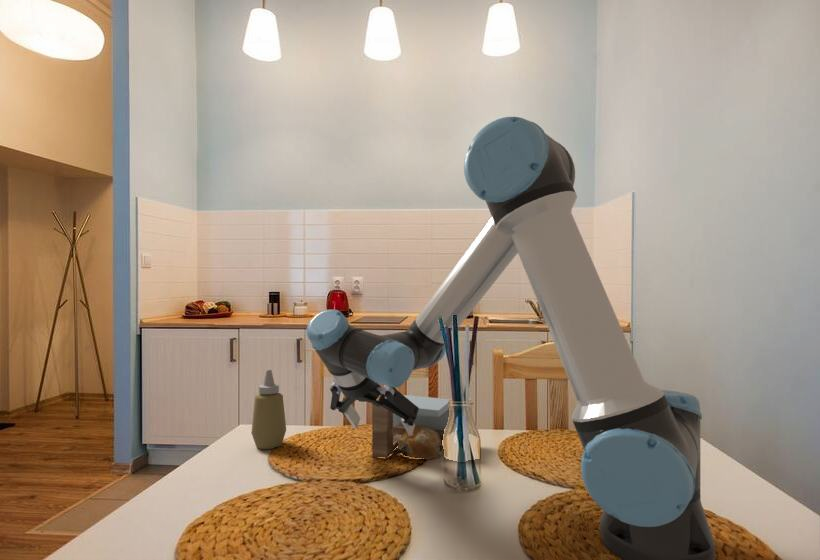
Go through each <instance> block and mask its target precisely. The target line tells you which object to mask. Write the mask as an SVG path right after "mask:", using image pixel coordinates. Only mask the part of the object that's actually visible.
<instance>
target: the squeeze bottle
mask: <svg viewBox="0 0 820 560" xmlns="http://www.w3.org/2000/svg"><path fill="white" fill-rule="evenodd" d="M286 432H287V423H286V414H285V403H284V395H283V394H282V393H280V384H278V383H275V380H274V375H273V371H272V369H266V370H265V375H264V380H263V383H262V384H259V386H258V394H257V395H256V396H255V397H254V404H253V414H252V423H251V436H252V438H253V441H254V444H255V447H256V448H257V449H259V450H272V449H276V448H275V447H277V448H279V447H281V446H282V444H283V441H284V439H285V435H286ZM280 445H281V446H280ZM278 446H279V447H278Z"/></svg>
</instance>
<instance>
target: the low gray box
mask: <svg viewBox="0 0 820 560" xmlns="http://www.w3.org/2000/svg"><path fill="white" fill-rule="evenodd" d="M403 395H404V396H405V397H406V398H407V399H408V400H410V401H411V402H412V403H413V404H415V405H416V406H417V407H418V408H419V410H418V413H417V417H416V419H415V421H414V424H415V426H428V427H430V428H431V429H433V430H440V431H444V429H445V427H446V425H447V422H448V417H449V406H448V401H449V400H450V398H449V399H448V398H439V397H432V396H431V397H430V396H420V395H409V394H408V395H407V394H406V395H405V394H403ZM395 425H399V426H404V425H403V424H402V422H401V417H399V416H397V415H396V414H394V413H393V427H394V426H395Z"/></svg>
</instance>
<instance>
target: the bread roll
mask: <svg viewBox="0 0 820 560" xmlns="http://www.w3.org/2000/svg"><path fill="white" fill-rule="evenodd" d="M397 442H398V448H396V450H395V451H396V453H398V454H400V453H402V454H403V455H405V456H409V457H414V458H422V459H423V458H424V459H426V460H425V461H428V460H433V459H436V458H438V457H441V456H442V455H443V452H442V447H441V440H440V437H439V435H438V433H437V432H436V431H435V430H433V429H431V428H430V427H428V426H415V427H414V431H413V434H412V436H409V435H408V433H407V431H405V432H404V433H403V435H402V436H401V437H400V438H399V439H398V440H397Z"/></svg>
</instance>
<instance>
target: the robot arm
mask: <svg viewBox="0 0 820 560" xmlns="http://www.w3.org/2000/svg"><path fill="white" fill-rule="evenodd" d="M468 146H469V147H468V149H467V152H466V154H465V157H464V163H463V172H464V177H465V180H466V183H467V185H468V187H469V189H470V190H471V191H472V192H473V194H475V196H476V197H478V198H479V199H480V200H482V201H485V202H486V205H487V208H488V210H489V213H490V215H491V216H490V217H489V219H488V220H487V221H486V222H485V224H484V225H483V227H482V228H481V229H480V231H479V232H478V233H477V235H476V236H475V238H474V239H473V240H472V242H471V243H470V244H469V245H468V247H467V248H466V250H465V251H464V252H463V254H462V255H461V256H460V257H459V259H458V261H457V262H456V263H455V264H454V266H453V267H452V269H451V270H450V271H449V272H448V274H447V275H446V276H445V278H444V279H443V281H442V282H441V284H440V285H439V286H438V288H437V289H435V291H434V293H432V296H431V297H430V298H429V300H428V301H427V303H426V304H425V306H424V307H423V308H422V310H421V311H420V312H419V314H418V315H417V316H416V317H415V319H414V320H413V322H412V323H411V324H410V325H409V326H408V328H407V330H405V331H401V332H395V333H389V334H382V335H381V334H380V335H379V334H376V333H373V332H368V331H366V330H364V329H362V328H358V327H356V326H352V325H351V324H350V323H349V320H348V318H347V317H346V316H345V315H344V313H343V312H341V311H340V310H338V309H325V310H322V311H320V312H318V313H317V314H316V315H314V316H313V318H312V319H311V320H310V321H309V322H308V324H307V327H306V335H307V338H308V340H309V342H310V344H311V348H312V349H313V350H314V351H315V352H316V354H317V355H318V357H319V358H320V360H321V361H322V363H323V365H324V366H325V368H326V369H327V370H328V372H329V374H330V376H331V378H332V379H333V382H332V383H331V386H330V388H329V391H330V392H331V401H330V407H329V409H330V410H332V411H336V410H337V411H338V412H339V413H342V415H343V417H345V418H346V419H347V420H348V422H349V423H350V425H351V426H352V428H353V429H358V426H359V424H360V420H361V416H360V415H359V414H358V411H357V410H356V409H355V407H354V405H353V404H354V403H355V401H358V402H362V403H363V402H366V403H370V404H371V405H372V404H374V405H376V406H377V407H380V406H382V407H384V408H385V409H387V410H389V411H391V412H392V413H394V414H396V415H397V416H399V417H401V422H402V424H403V425H404V427H405V429H406V431H407V433H408V435H409V436H412V434H413V431H414V427H415V424H414V421H415V419H416V417H417V413H418V410H419V408H418V407H417V406H416V405H415V404H413V403H412V402H411V401H410V400H408V399H407V398H406V397H405V396H404V395H405V394H402V392H400V391H399V390H398V389H397V388H399V387H401V386H403V385H404V383H405V382H406V381H408V380H409V379H410V377H411V375H412V373H413V372H414V371H416V370H419V369H420V370H421V369H427V368H430V367H432V366H433V365H435V364H437V363H439V362H440V361H441V360H442V359H443V357H444V356H445V353H446V348H445V346H444V341H443V337H442V333H441V330H440V325H439V321H438V316H441V317H443V318H442V319H443V324H444V325H447V327H448V328H452V326H453V323H452V315H457V323H458V329H459V327H460V326H461V325H462V323H464V321H465V320H466V319H467V318H468V316H469V315H470V314H471V313H472V311H473V310H474V309H475V308H476V306H477V305H478V304H479V302H480V301H481V300H482V298H484V296H485V295H486V293H487V292H488V291H489V290H490V289H491V287H492V286H493V285H494V284H495V282H496V281H497V280H498V278H500V276H501V275H502V274H503V272H504V271H505V270H506V268H507V267H508V266H509V265H510V263H511V262H512V261H513V260H514V258H515V257H516V256H517V254H518V256H519V258H520V261H521V263H522V267H523V269H524V271H525V274H526V276H527V278H528V281H529V283H530V286H531V289H532V291H533V293H534V296H535V298H536V300H537V303H538V307H539V309H540V311H541V313H542V317H543V318H544V321H545V323H546V327H547V329H548V331H549V333H550V334H549V335H550V336H551V339H552V341H553V344H554V347H555V348H556V351H557V354H558V355H559V358H560V361H561V364H562V366H563V368H564V371H565V373H566V376H567V378H568V381H569V383H570V385H571V388H572V392H573V393H574V396H575V398H576V406H575V408H574V410H573V412H572V415H571V420H572V423H573V426H574V428H575V431H576V433H577V436H578V438H579V441H580V444H581V446H582V448H583V453H582V455H581V457H580V458H581V460H580V462H581V463H580V472H581V479H582V482H583V484H584V485H583V486H584V487H585V490H586V491H587V493H588V495H589V496H590V498H591V499H592V500H593V502H595V504H596V505H597V506H598V507H599V508H600V509H602V510H603V511H602V514H601V517H600V522H599V523H600V524H599V526H600V529H599V531H600V532H599V533H600V534H599V536H600V538H601V541H602V542H603V545H605V547H606V548H607V549H608V550H609V551H610V552H611V553H613V554H614V555H616V556H617V557H618V558H620V559H622V560H716V542H715V540H714V537H713V533H712V530H711V527H710V524H709V521H708V519H707V516H706V513H705V510H704V507H703V505H702V501H701V497H702V496H701V420H702V419H703V414H702V412H701V402H700V400H699V399H698V398H697V397H696V396H694V395H693V394H691V393H687V392H681V391H674V390H669V389H668V390H667V389H660V388H658V387H655V386H654V385H652V384H649V383H648V382H647V381H645V379H644V377H643V375H642V372H641V371H640V368H639V366H638V363H637V361H636V358H635V355H634V354H633V351H632V350H631V347H630V344H629V343H628V340H627V338H626V335H625V333H624V331H623V328H622V326H621V324H620V322H619V319H618V318H617V315H616V312H615V310H614V308H613V306H612V303H611V301H610V299H609V296H608V294H607V292H606V290H605V288H604V285H603V283H602V280H601V277H600V275H599V273H598V271H597V269H596V266H595V264H594V262H593V259H592V257H591V255H590V252H589V251H588V247H587V246H586V243H585V242H584V239H583V236H582V234H581V232H580V230H579V227H578V225H577V223H576V220H575V218H574V216H573V214H572V209H573V207H574V205H575V203H576V201H577V199H578V195H577V192H576V191H575V189H574V184H575V182H576V181H575V180H576V168H575V163H574V161H573V157H572V155H571V154H570V152H569V151H568V150H567V149H566V147H564V146H563V145H562V144H561V143H559V142H558V141H556V140H555V139H554V138H552V137H551V136H550V135H549V134H547V133H546V132H545V131H544V129H543V128H542V127H541V126H540V125H539V124H537V123H536V122H534V121H530V120H529V119H526V118H523V117H519V116H505V117H501V118H497V119H495V120H492V121H491V122H488V124H486V125H485V126H484V127H482V128H481V129H480V130H479V131H478V132H477V133H476V135H475V136H474V138H473V139H472V140H471V141H470V144H469V145H468ZM441 317H439V318H441ZM341 393H342V394H343V396H345V397H343V399H342V400H341V401H340V399H341V398H340V397H341Z"/></svg>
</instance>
